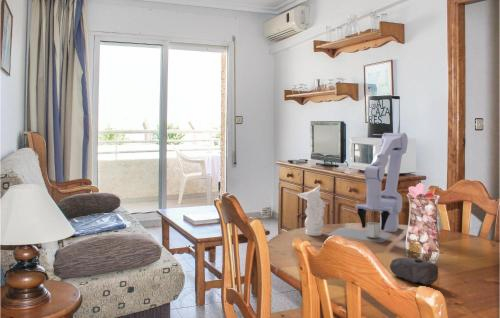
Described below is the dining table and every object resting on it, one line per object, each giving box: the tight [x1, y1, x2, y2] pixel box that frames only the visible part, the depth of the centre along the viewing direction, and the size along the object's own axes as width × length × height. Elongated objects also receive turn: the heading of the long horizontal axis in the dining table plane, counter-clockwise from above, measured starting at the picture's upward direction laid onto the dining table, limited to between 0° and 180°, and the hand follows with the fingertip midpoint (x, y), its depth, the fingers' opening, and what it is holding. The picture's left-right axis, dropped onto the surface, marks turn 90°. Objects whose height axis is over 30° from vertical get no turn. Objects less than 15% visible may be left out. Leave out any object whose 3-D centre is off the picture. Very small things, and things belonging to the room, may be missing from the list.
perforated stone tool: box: [389, 257, 439, 286], centre depth 131 cm, size 15×5×7 cm, turn 36°
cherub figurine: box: [297, 183, 326, 237], centre depth 185 cm, size 12×12×22 cm
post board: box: [327, 226, 393, 243], centre depth 182 cm, size 16×23×6 cm
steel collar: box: [365, 221, 381, 238], centre depth 177 cm, size 5×5×5 cm
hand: (373, 228), depth 177 cm, fingers open, 7 cm apart
